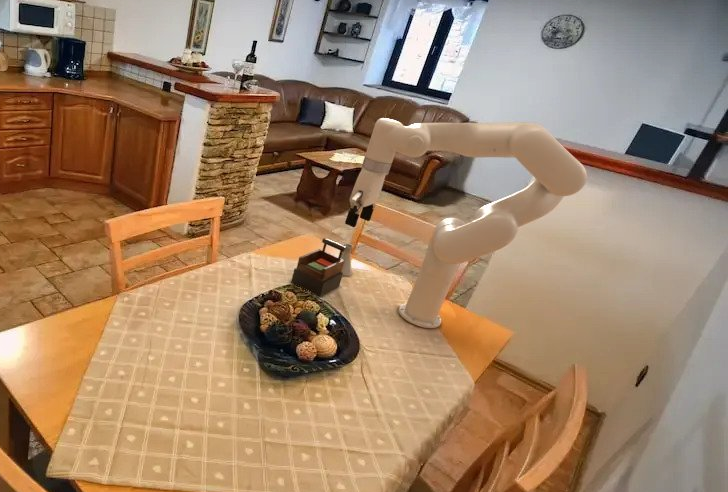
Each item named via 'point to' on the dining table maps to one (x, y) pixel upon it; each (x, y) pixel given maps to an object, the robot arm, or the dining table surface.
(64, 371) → the dining table surface
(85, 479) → the dining table surface
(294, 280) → the stand
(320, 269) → the block
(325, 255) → the basket
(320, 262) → the terracotta packet
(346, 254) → the flask
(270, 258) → the dining table surface
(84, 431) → the dining table surface
